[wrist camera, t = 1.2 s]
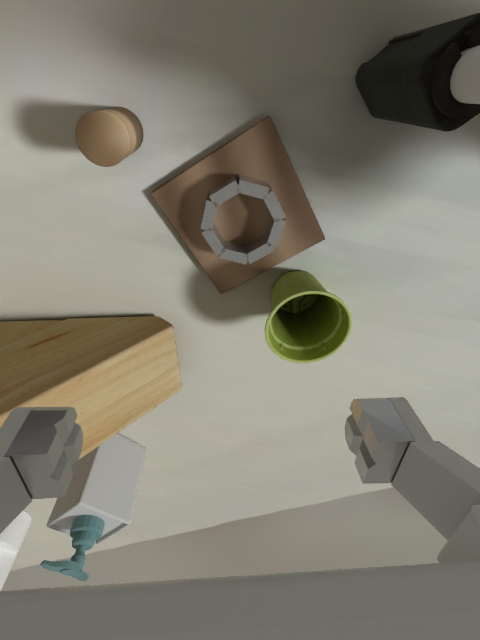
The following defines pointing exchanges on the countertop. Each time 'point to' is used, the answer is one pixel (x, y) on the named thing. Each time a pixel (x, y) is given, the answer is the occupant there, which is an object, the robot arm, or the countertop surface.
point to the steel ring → (261, 244)
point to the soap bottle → (97, 499)
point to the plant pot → (305, 319)
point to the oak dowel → (108, 135)
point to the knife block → (89, 370)
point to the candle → (426, 76)
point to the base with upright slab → (12, 543)
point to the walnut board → (241, 204)
